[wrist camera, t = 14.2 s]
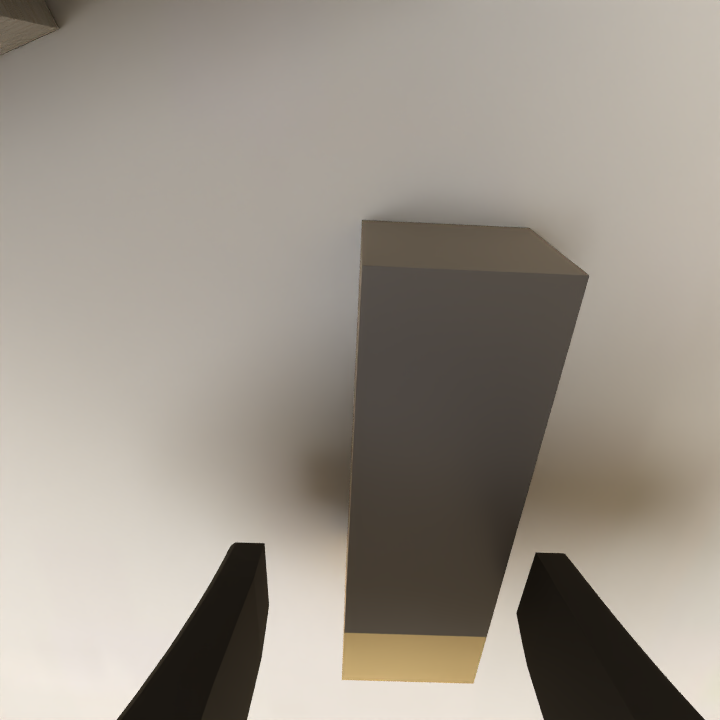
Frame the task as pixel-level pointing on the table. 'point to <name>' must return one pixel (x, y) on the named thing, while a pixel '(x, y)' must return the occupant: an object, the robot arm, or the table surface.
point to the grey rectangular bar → (445, 435)
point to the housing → (23, 22)
